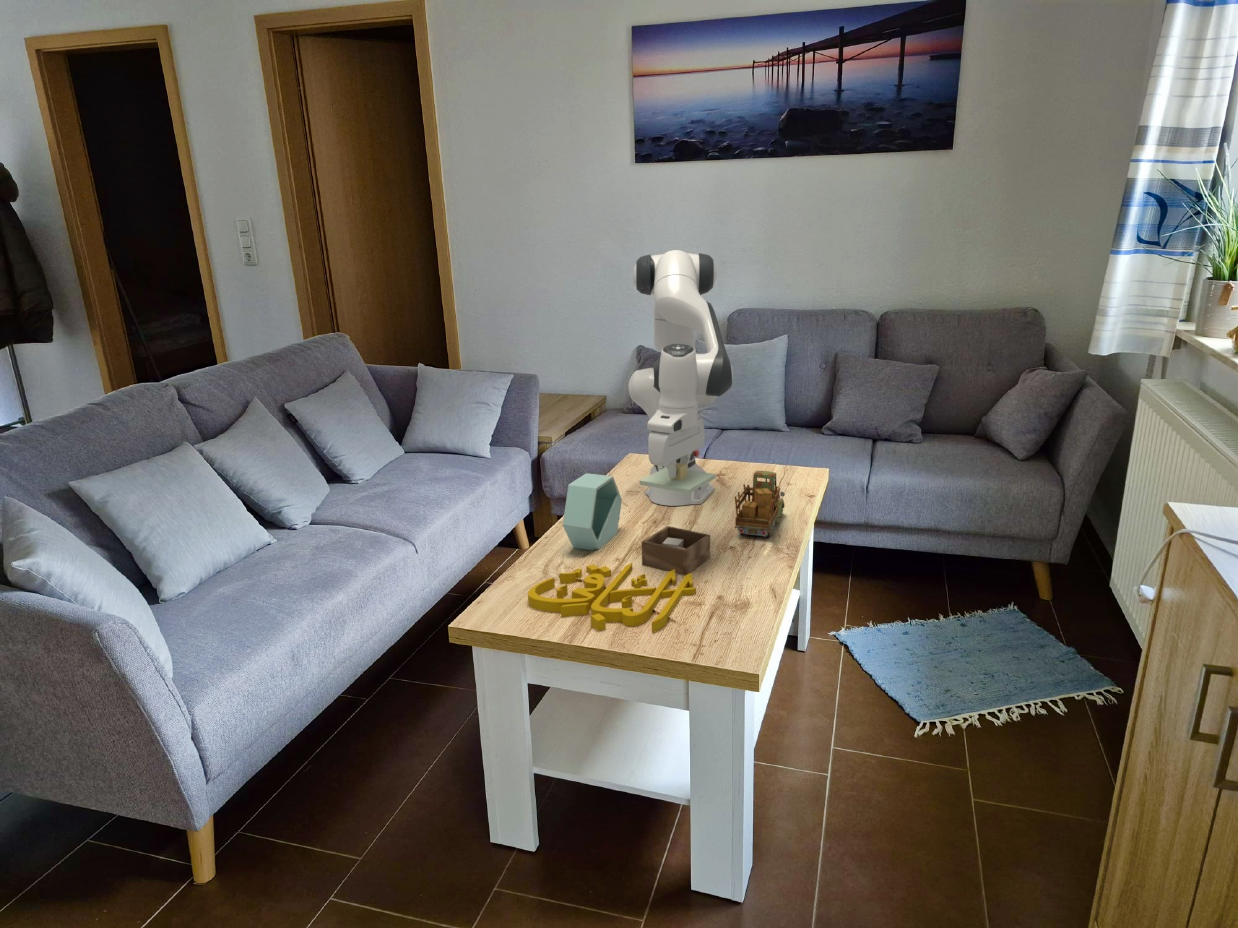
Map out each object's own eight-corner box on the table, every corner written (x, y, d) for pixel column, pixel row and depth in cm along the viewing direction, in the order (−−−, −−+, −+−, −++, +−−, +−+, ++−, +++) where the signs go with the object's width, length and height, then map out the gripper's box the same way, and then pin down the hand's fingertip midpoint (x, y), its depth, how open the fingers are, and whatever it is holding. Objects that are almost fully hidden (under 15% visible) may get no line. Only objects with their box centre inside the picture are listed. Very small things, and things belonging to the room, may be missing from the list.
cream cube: (668, 552, 210) (668, 537, 209) (683, 554, 209) (683, 539, 207) (662, 558, 207) (662, 543, 205) (677, 560, 205) (677, 545, 204)
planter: (605, 564, 218) (584, 515, 203) (578, 559, 221) (555, 511, 206) (626, 512, 227) (608, 462, 212) (600, 508, 230) (580, 458, 215)
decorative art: (511, 603, 181) (575, 552, 207) (512, 616, 182) (575, 563, 208) (658, 632, 168) (707, 573, 194) (658, 645, 169) (707, 585, 195)
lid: (668, 470, 207) (668, 454, 206) (715, 478, 200) (716, 462, 199) (639, 484, 197) (639, 467, 196) (688, 493, 190) (688, 476, 189)
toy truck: (789, 514, 237) (791, 463, 233) (772, 547, 215) (774, 491, 210) (751, 510, 241) (752, 460, 236) (730, 542, 218) (732, 487, 214)
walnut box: (667, 551, 213) (667, 525, 211) (710, 561, 206) (710, 535, 204) (642, 568, 203) (641, 541, 201) (685, 579, 197) (686, 551, 195)
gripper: (688, 406, 204) (688, 461, 208) (643, 424, 188) (643, 483, 192) (711, 409, 201) (710, 465, 205) (667, 428, 184) (667, 488, 188)
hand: (678, 474), depth 198 cm, fingers closed on lid, 3 cm apart
